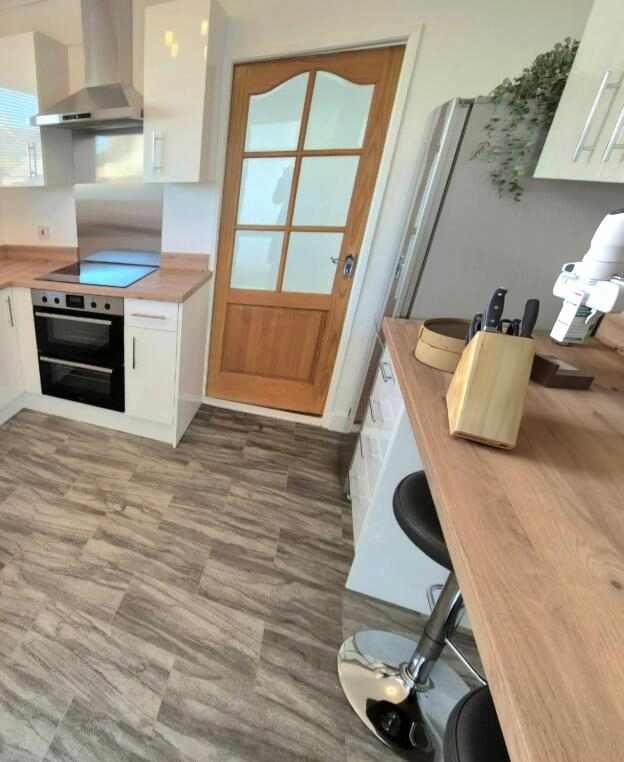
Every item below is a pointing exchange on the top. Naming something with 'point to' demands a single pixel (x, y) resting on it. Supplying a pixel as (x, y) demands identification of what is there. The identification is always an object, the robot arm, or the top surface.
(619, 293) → the robot arm
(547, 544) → the top surface
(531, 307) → the knife block
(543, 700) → the top surface
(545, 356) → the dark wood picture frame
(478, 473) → the top surface
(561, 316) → the syrup box
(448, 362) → the steamer basket
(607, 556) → the top surface
